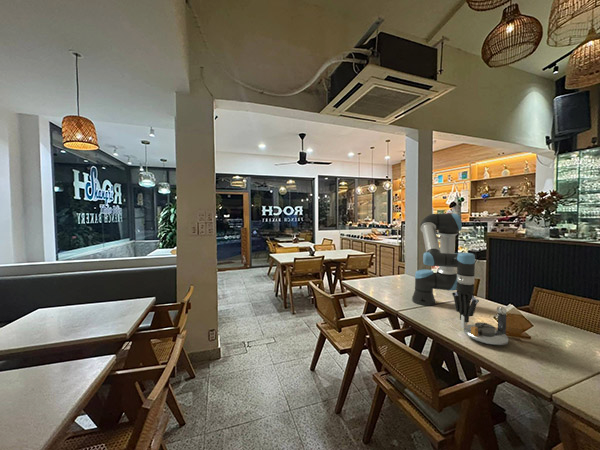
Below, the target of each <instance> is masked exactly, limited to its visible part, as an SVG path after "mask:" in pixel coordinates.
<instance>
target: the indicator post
mask: <svg viewBox="0 0 600 450" xmlns="http://www.w3.org/2000/svg"><path fill="white" fill-rule="evenodd" d="M496 312H497V314H494V317H495V318H496V317H497V330H498V331H500V332H502V333H504V334H505V335H506V336H507V334H506V333H507V332H506V331H507V309H506V308H505V307H504V306H501V305H500V306H497V308H496Z"/></svg>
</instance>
